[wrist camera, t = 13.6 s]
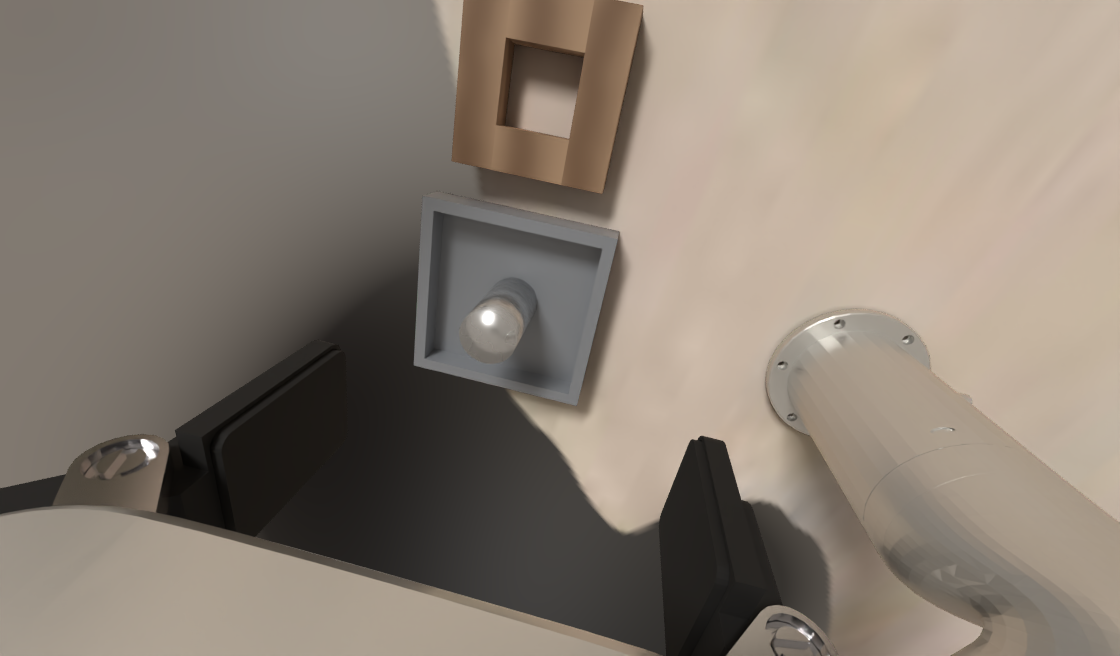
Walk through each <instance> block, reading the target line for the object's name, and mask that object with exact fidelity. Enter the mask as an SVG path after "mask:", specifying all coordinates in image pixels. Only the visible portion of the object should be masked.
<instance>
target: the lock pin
mask: <svg viewBox="0 0 1120 656" xmlns="http://www.w3.org/2000/svg"><path fill="white" fill-rule="evenodd" d="M536 308H537V297H536V294H535V292H534V290H533V288H532V287H531V286H530V285H529V284H528V283H527V282H525V281H523V280H521V279H519V278H514V277H509V278H504V279H502V280H500V281H498V282H497V283H496V284H495V285H494V286H493V287H492V288H491V290H490V291H489V292H488V293H487V294H486V295H485V296H484V297H483V299H482V300H481V301H480V302H479V303H478V304H477V305H476V306H475V308H474V309H473V310H472V311H471V312H470V313H469V314H468V315H467V317H466V318H465V319H464V320H463V322H462V323H461V326H460V329H459V338H460V342H461V345H462V347H463V348H464V350H465V351H466V352H467V353H468V354H469V355H470V356H471V357H472V358H474V359H475V360H477V361H479V362H482V363H486V364H497V363H500V362H503V361H505V360H506V359H508V358H509V357H510V356H511V355H512V353H513V352H514V350H515V348H516V346H517V344H518V342H519V340H520V339H521V337H522V335H523V333H524V331H525V329H526V327H527V326H528V324H529V322H530V320H531V318H532V316H533V314H534V313H535V310H536Z"/></svg>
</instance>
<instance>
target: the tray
mask: <svg viewBox="0 0 1120 656" xmlns="http://www.w3.org/2000/svg"><path fill="white" fill-rule="evenodd" d="M618 235H619V231H615V230H611V229H606V228H602V227H597V226H593V225H588V224H584V223H579V222H575V221H570V220H566V219H561V218H557V217H552V216H548V215H543V214H539V213H534V212H530V211H525V210H521V209H516V208H512V207H507V206H503V205H498V204H494V203H489V202H485V201H480V200H476V199H471V198H466V197H462V196H457V195H453V194H449V193H444V192H439V191H436V192H433V193H429V194H426V195H423V196H422V214H421V234H420V254H419V273H418V294H417V313H416V314H417V315H416V333H415V354H414V365H415V366H419V367H423V368H427V369H431V370H435V371H439V372H443V373H447V374H451V375H455V376H459V377H463V378H467V379H471V380H475V381H479V382H483V383H487V384H491V385H495V386H499V387H503V388H507V389H511V390H515V391H519V392H523V393H527V394H531V395H535V396H539V397H543V398H547V399H551V400H555V401H559V402H563V403H567V404H571V405H575V406H577V403H578V399H579V395H580V391H581V387H582V383H583V379H584V375H585V371H586V367H587V362H588V358H589V354H590V350H591V346H592V342H593V338H594V334H595V330H596V326H597V322H598V318H599V314H600V310H601V306H602V302H603V298H604V293H605V289H606V285H607V281H608V277H609V273H610V269H611V265H612V261H613V257H614V253H615V249H616V245H617V241H618ZM509 277H514V278H519V279H521V280H523V281H525V282H527V283H528V284H529V285H530V286H531V287H532V288H533V290H534V292H535V294H536V297H537V308H536V310H535V313H534V314H533V316H532V318H531V320H530V322H529V324H528V326H527V327H526V329H525V331H524V333H523V335H522V337H521V339H520V340H519V342H518V344H517V346H516V348H515V350H514V352H513V353H512V355H511V356H510V357H509V358H508V359H506V360H505V361H503V362H500V363H497V364H486V363H482V362H479V361H477V360H475V359H474V358H472V357H471V356H470V355H469V354H468V353H467V352H466V351H465V350H464V348H463V347H462V345H461V342H460V338H459V329H460V326H461V323H462V322H463V320H464V319H465V318H466V317H467V315H468V314H469V313H470V312H471V311H472V310H473V309H474V308H475V306H476V305H477V304H478V303H479V302H480V301H481V300H482V299H483V297H484V296H485V295H486V294H487V293H488V292H489V291H490V290H491V288H492V287H493V286H494V285H495V284H496V283H497V282H498V281H500V280H502V279H504V278H509Z"/></svg>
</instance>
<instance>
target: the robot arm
mask: <svg viewBox="0 0 1120 656" xmlns="http://www.w3.org/2000/svg"><path fill="white" fill-rule="evenodd" d="M837 320H838V321H837ZM835 321H837V322H835ZM834 322H835V323H834ZM779 362H781V363H779ZM766 389H767V394H768V397H769V399H770V401H771V404H772V406H773V408H774V409H775V411H776V412H777V414H778V416H779V417H780V418H781V419H782V420H783V421H784V422H785V423H786V424H788V425H789V426H791V427H792V428H794V429H795V430H797V431H799V432H801V433H804V434H806V435H808V436H811V437H812V439H813V441H814V442H815V444H816V446H817V448H818V449H819V451H820V453H821V455H822V456H823V458H824V460H825V461H826V463H827V465H828V467H829V468H830V470H831V472H832V474H833V475H834V477H835V479H836V481H837V482H838V484H839V486H840V488H841V489H842V491H843V493H844V495H845V496H846V498H847V500H848V501H849V503H850V505H851V507H852V508H853V510H854V512H855V514H856V515H857V517H858V519H859V521H860V522H861V524H862V526H863V528H864V529H865V531H866V533H867V535H868V536H869V538H870V540H871V542H872V543H873V545H874V547H875V549H876V550H877V552H878V554H879V555H880V557H881V558H882V560H883V561H884V563H885V564H886V566H887V567H888V568H889V569H890V570H891V572H892V573H893V574H894V575H895V576H896V577H897V578H898V579H899V580H900V581H901V582H902V583H903V584H904V585H906V586H907V587H908V588H909V589H910V590H911V591H913V592H914V593H916V594H917V595H919V596H920V597H922V598H923V599H925V600H926V601H928V602H930V603H931V604H933V605H935V606H937V607H938V608H940V609H942V610H944V611H946V612H948V613H950V614H953V615H955V616H957V617H959V618H961V619H964V620H966V621H968V622H971V623H973V624H975V625H978V626H980V627H982V628H983V630H982V632H981V635H980V636H979V637H978V638H977V639H976V640H975V641H974V642H972V643H971V644H969V645H967V646H966V647H964V648H963V649H961V650H959V651H958V652H956V653H954V654H952V655H951V656H1120V522H1118V521H1117V520H1116V519H1114V518H1113V517H1112V516H1110V515H1109V514H1108V513H1107V512H1105V511H1104V510H1103V509H1101V508H1100V507H1099V506H1098V505H1096V504H1095V503H1094V502H1092V501H1091V500H1090V499H1089V498H1087V497H1086V496H1085V495H1083V494H1082V493H1081V492H1080V491H1078V490H1077V489H1076V488H1075V487H1073V486H1072V485H1071V484H1070V483H1068V482H1067V481H1066V480H1065V479H1063V478H1062V477H1061V476H1060V475H1058V474H1057V473H1056V472H1055V471H1053V470H1052V469H1051V468H1050V467H1048V466H1047V465H1046V464H1045V463H1044V462H1042V461H1041V460H1040V459H1039V458H1037V457H1036V456H1035V455H1034V454H1032V453H1031V452H1030V451H1029V450H1027V449H1026V448H1025V447H1024V446H1023V445H1021V444H1020V443H1019V442H1018V441H1016V440H1015V439H1014V438H1013V437H1011V436H1010V435H1009V434H1008V433H1006V432H1005V431H1004V430H1003V429H1002V428H1000V427H999V426H998V425H997V424H995V423H994V422H993V421H992V420H990V419H989V418H988V417H987V416H986V415H984V414H983V413H982V412H981V411H979V410H978V409H977V408H976V407H974V406H973V405H972V399H971V397H970V396H969V395H966V394H962V393H958V392H956V391H955V390H953V389H952V388H951V387H950V386H949V385H947V384H946V383H945V382H944V381H942V380H941V379H940V378H939V377H937V376H936V375H935V374H934V373H933V372H931V364H930V356H929V353H928V350H927V347H926V345H925V344H924V342H923V341H922V339H921V337H920V336H919V335H918V334H917V333H916V332H915V331H914V330H913V329H912V328H910V327H909V326H908V325H906V324H905V323H903V322H902V321H900V320H899V319H897V318H895V317H893V316H890V315H888V314H886V313H882V312H878V311H873V310H866V309H849V310H840V311H835V312H831V313H828V314H824V315H821V316H819V317H816V318H814V319H812V320H810V321H807V322H806V323H804V324H803V325H801V326H800V327H798V328H796V329H795V330H794V331H793V332H791V333H790V334H789V335H788V336H787V337H786V338H785V339H784V340H783V341H782V342H781V344H780V345H779V346H778V347H777V349H776V350H775V352H774V354H773V356H772V358H771V360H770V361H769V365H768V369H767V372H766ZM346 392H347V389H346V357H345V354H344V352H342V351H341V349H340V347H339V346H338V345H336V344H332V343H328V342H324V341H320V340H314V341H312V342H310V343H309V344H307V345H306V346H304V347H303V348H301V349H300V350H298V351H297V352H295V353H293V354H292V355H290V356H289V357H287V358H286V359H284V360H283V361H281V362H280V363H278V364H276V365H275V366H273V367H272V368H270V369H269V370H267V371H266V372H264V373H263V374H261V375H260V376H258V377H256V378H255V379H253V380H252V381H250V382H249V383H247V384H246V385H244V386H243V387H241V388H239V389H238V390H236V391H235V392H233V393H232V394H230V395H229V396H227V397H225V398H224V399H222V400H221V401H219V402H218V403H216V404H215V405H213V406H212V407H210V408H208V409H207V410H205V411H204V412H202V413H201V414H199V415H198V416H196V417H195V418H193V419H192V420H190V421H188V422H187V423H185V424H184V425H182V426H181V427H179V428H178V429H176V430H175V432H176V437H175V438H173V439H172V440H170V441H169V442H166V440H165V439H163V438H161V437H158V436H156V435H146V434H140V435H139V434H138V435H128V436H124V437H119V438H115V439H112V440H109V441H106V442H104V443H100V444H98V445H96V446H94V447H92V448H90V449H89V450H87V451H85V452H84V453H82V454H81V455H80V456H78V458H76V459H75V460H74V461H73V463H72V464H71V465H70V467H69V469H68V471H67V473H66V474H65V475H60V476H56V477H51V478H47V479H42V480H37V481H33V482H29V483H24V484H19V485H15V486H10V487H6V488H0V656H662V655H659V654H657V653H654V652H651V651H648V650H645V649H642V648H639V647H635V646H632V645H629V644H626V643H623V642H619V641H616V640H613V639H610V638H606V637H603V636H600V635H597V634H593V633H590V632H587V631H584V630H580V629H577V628H574V627H570V626H567V625H563V624H560V623H556V622H553V621H550V620H546V619H543V618H539V617H536V616H532V615H529V614H525V613H522V612H518V611H515V610H512V609H508V608H505V607H501V606H498V605H494V604H491V603H487V602H484V601H480V600H477V599H473V598H470V597H467V596H463V595H459V594H456V593H452V592H449V591H445V590H442V589H438V588H435V587H431V586H428V585H424V584H420V583H417V582H414V581H410V580H407V579H403V578H399V577H396V576H392V575H388V574H385V573H382V572H378V571H374V570H371V569H368V568H364V567H360V566H357V565H353V564H350V563H346V562H343V561H339V560H335V559H332V558H328V557H325V556H321V555H317V554H314V553H310V552H306V551H303V550H299V549H296V548H292V547H288V546H285V545H281V544H278V543H273V542H270V541H267V540H263V539H260V538H256V537H255V536H256V535H257V534H258V533H259V532H260V531H261V530H262V529H263V528H264V527H265V526H266V525H267V524H268V523H269V522H270V521H271V519H272V518H273V517H274V516H275V515H276V514H277V513H278V512H279V511H280V510H281V509H282V508H283V507H284V506H285V504H287V502H288V501H289V500H290V499H291V498H292V497H293V496H294V495H295V494H296V493H297V492H298V491H299V489H301V488H302V487H303V485H304V484H305V483H306V482H307V481H308V480H309V479H310V478H311V477H312V476H313V475H314V474H315V473H316V472H317V471H318V470H319V468H320V467H321V466H322V465H323V464H324V463H325V462H326V461H327V460H328V459H329V458H330V457H331V456H332V455H333V454H334V453H335V451H336V450H337V449H338V448H339V447H340V446H341V445H342V444H343V442H344V441H345V439H346V436H347V432H348V425H347V393H346ZM659 537H660V554H661V570H662V588H663V606H664V622H665V640H666V656H838V654H837V652H836V650H835V647H834V646H833V644H832V643H831V641H830V640H829V638H828V637H827V636H826V634H825V633H824V632H823V631H822V630H821V629H820V628H819V627H818V626H817V625H816V624H815V623H814V622H813V621H812V620H810V619H809V618H807V617H806V616H805V615H803V614H802V613H800V612H798V611H796V610H793V609H792V608H789V607H785V606H783V605H782V602H781V599H780V596H779V592H778V589H777V586H776V583H775V579H774V576H773V573H772V570H771V566H770V564H769V560H768V557H767V553H766V550H765V547H764V544H763V540H762V537H761V534H760V531H759V528H758V524H757V521H756V518H755V515H754V511H753V509H752V507H751V505H750V504H749V503H748V502H746V501H743V500H741V497H740V494H739V490H738V487H737V483H736V480H735V476H734V473H733V469H732V466H731V462H730V459H729V455H728V452H727V448H726V445H725V443H724V442H723V441H721V440H717V439H713V438H709V437H705V436H700V437H699V438H698V440H693V439H692V440H691V441H690V442H689V445H688V447H687V450H686V452H685V455H684V457H683V460H682V462H681V465H680V467H679V470H678V472H677V475H676V477H675V480H674V482H673V485H672V488H671V490H670V493H669V495H668V498H667V500H666V503H665V505H664V508H663V510H662V513H661V516H660V521H659Z"/></svg>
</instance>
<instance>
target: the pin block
mask: <svg viewBox="0 0 1120 656" xmlns="http://www.w3.org/2000/svg"><path fill="white" fill-rule="evenodd" d="M642 16H643V5H639V4H634V3H628V2H623V1H618V0H464V2H463V15H462V28H461V42H460V55H459V68H458V81H457V95H456V110H455V121H454V135H453V148H452V161H453V162H458V163H462V164H467V165H471V166H476V167H481V168H485V169H490V170H494V171H499V172H504V173H508V174H513V175H517V176H522V177H527V178H531V179H536V180H540V181H545V182H550V183H554V184H559V185H563V186H568V187H573V188H577V189H582V190H587V191H591V192H596V193H600V194H602V193H603V191H604V188H605V183H606V178H607V174H608V169H609V165H610V160H611V156H612V151H613V147H614V142H615V138H616V133H617V129H618V124H619V120H620V115H621V111H622V106H623V102H624V97H625V93H626V88H627V84H628V79H629V75H630V70H631V66H632V61H633V57H634V52H635V48H636V43H637V39H638V34H639V30H640V25H641V21H642ZM515 44H518V45H523V46H528V47H533V48H539V49H544V50H549V51H554V52H559V53H564V54H569V55H574V56H579V57H584V60H583V66H582V72H581V77H580V83H579V88H578V94H577V99H576V105H575V110H574V116H573V121H572V127H571V133H570V138H569V139H567V138H562V137H557V136H553V135H548V134H543V133H538V132H533V131H529V130H524V129H519V128H514V127H510V126H505V121H506V113H507V104H508V96H509V88H510V79H511V71H512V63H513V55H514V46H515Z"/></svg>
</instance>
